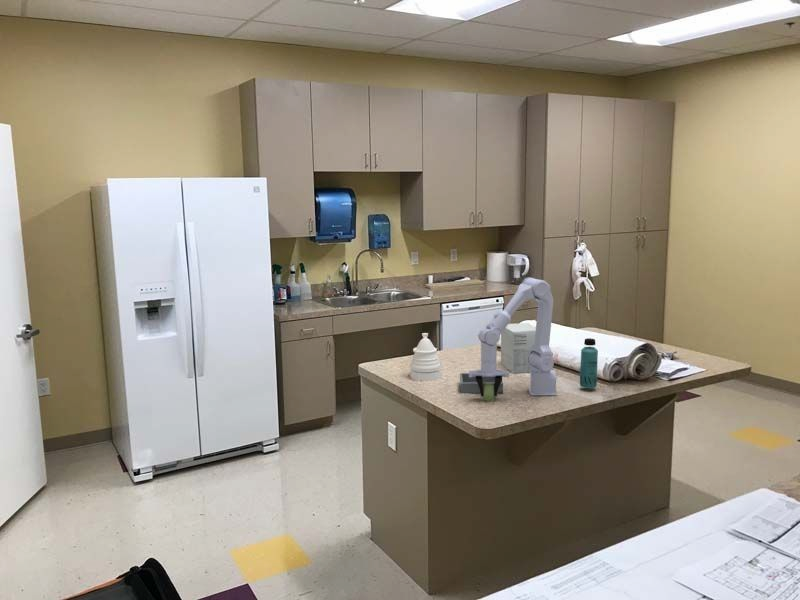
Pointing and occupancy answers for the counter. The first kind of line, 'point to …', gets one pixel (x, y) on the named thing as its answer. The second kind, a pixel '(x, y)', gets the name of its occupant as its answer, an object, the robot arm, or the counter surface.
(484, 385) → the cucumber chunk
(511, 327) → the supplement box
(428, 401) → the counter surface
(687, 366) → the counter surface
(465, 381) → the bin
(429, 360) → the honey pot
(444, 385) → the counter surface
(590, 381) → the beverage bottle
